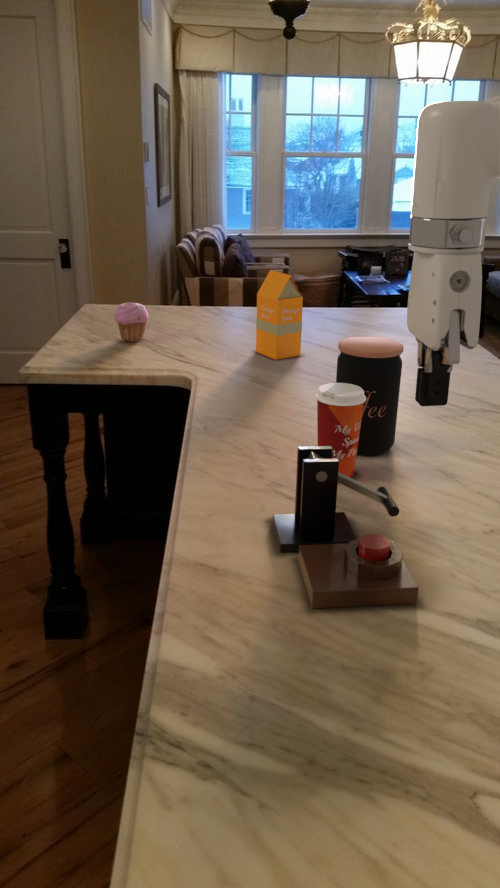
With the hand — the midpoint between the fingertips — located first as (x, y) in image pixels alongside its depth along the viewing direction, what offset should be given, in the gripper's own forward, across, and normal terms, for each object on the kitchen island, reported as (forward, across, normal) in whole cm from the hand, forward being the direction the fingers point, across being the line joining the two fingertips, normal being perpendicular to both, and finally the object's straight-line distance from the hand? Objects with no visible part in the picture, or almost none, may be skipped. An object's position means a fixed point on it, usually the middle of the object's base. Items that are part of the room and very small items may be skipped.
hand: (430, 403), depth 79 cm
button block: (+21, -3, +9) cm, 23 cm away
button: (+17, -4, +7) cm, 19 cm away
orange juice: (+22, +98, +4) cm, 100 cm away
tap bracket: (+21, +8, +12) cm, 25 cm away
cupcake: (+21, +113, +41) cm, 122 cm away
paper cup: (+21, +26, +4) cm, 34 cm away
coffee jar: (+22, +38, -3) cm, 43 cm away
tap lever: (+14, +8, +7) cm, 18 cm away
